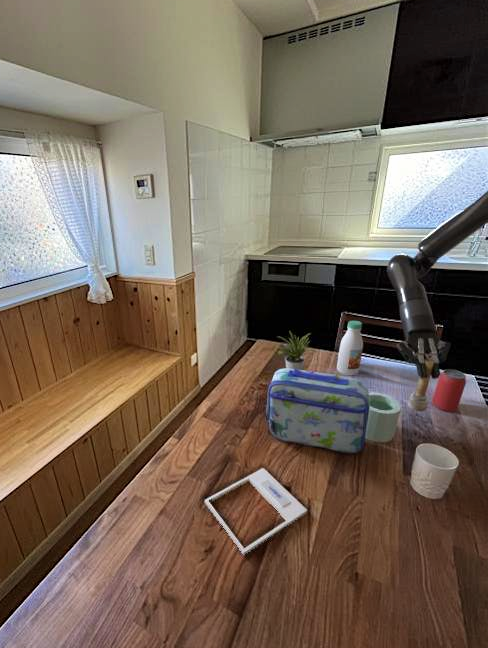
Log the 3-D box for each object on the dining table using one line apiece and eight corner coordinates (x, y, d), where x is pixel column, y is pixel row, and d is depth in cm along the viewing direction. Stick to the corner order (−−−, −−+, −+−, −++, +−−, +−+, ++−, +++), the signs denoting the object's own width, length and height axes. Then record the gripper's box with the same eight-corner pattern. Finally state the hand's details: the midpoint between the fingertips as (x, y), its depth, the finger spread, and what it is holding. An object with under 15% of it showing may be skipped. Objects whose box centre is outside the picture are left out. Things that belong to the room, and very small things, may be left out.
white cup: (402, 488, 80) (411, 456, 76) (412, 469, 85) (421, 438, 81) (442, 508, 75) (454, 475, 71) (450, 486, 80) (462, 454, 75)
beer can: (460, 414, 103) (471, 380, 98) (435, 410, 105) (445, 377, 100) (452, 401, 108) (463, 369, 103) (428, 398, 110) (438, 367, 106)
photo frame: (307, 509, 75) (243, 552, 67) (306, 513, 75) (243, 555, 68) (263, 467, 87) (204, 499, 79) (263, 470, 87) (204, 502, 79)
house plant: (289, 359, 140) (292, 323, 133) (320, 371, 130) (325, 332, 123) (268, 371, 132) (270, 333, 125) (299, 385, 122) (302, 345, 115)
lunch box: (262, 439, 98) (264, 377, 89) (270, 417, 107) (273, 359, 98) (361, 464, 87) (375, 397, 79) (361, 437, 96) (373, 374, 87)
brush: (427, 405, 96) (440, 359, 90) (424, 413, 93) (438, 366, 87) (409, 400, 99) (421, 355, 93) (406, 407, 96) (418, 361, 90)
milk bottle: (338, 375, 127) (345, 326, 118) (335, 365, 133) (341, 318, 125) (360, 376, 125) (369, 327, 116) (356, 366, 132) (364, 319, 123)
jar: (397, 428, 99) (404, 400, 95) (388, 447, 92) (396, 418, 88) (360, 415, 105) (366, 388, 101) (350, 432, 98) (355, 404, 94)
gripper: (396, 313, 93) (409, 374, 87) (451, 312, 91) (467, 374, 85) (385, 324, 100) (396, 381, 94) (435, 323, 98) (449, 381, 92)
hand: (430, 377), depth 90 cm, fingers closed on brush, 2 cm apart
